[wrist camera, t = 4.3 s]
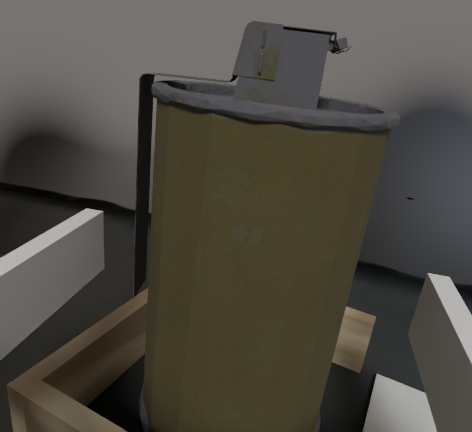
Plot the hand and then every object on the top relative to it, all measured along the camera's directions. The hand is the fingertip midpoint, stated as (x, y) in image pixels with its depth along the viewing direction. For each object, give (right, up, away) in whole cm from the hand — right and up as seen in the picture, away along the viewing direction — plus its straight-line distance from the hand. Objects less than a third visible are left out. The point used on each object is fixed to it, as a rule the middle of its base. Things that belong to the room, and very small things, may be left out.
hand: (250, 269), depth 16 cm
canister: (-1, -9, +7) cm, 12 cm away
